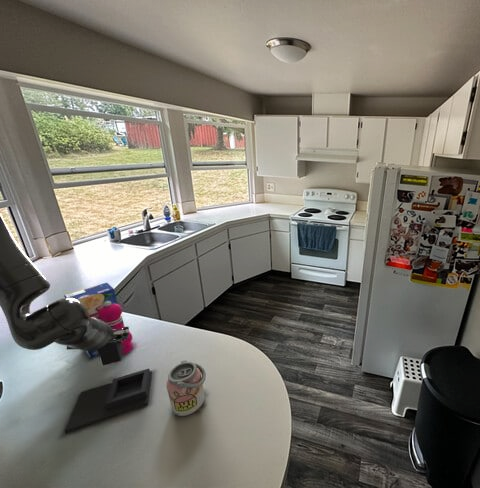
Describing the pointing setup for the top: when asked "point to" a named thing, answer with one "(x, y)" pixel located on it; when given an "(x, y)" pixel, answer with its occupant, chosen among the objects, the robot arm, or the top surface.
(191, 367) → the beverage can
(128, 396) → the base pad
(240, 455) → the top surface
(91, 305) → the beverage box
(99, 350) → the black tall rectangular block
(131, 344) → the pepper mill
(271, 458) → the top surface
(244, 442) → the top surface
